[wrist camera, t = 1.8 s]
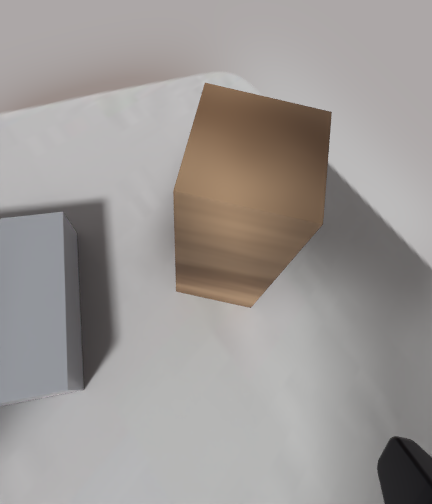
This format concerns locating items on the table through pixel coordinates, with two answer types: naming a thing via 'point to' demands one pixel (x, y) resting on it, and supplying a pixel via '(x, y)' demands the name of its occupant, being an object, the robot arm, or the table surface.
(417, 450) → the robot arm
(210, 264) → the walnut block
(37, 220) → the plate
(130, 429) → the table surface
